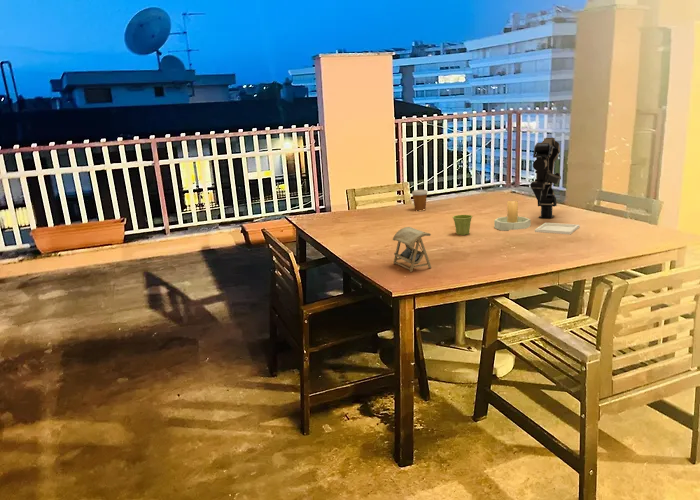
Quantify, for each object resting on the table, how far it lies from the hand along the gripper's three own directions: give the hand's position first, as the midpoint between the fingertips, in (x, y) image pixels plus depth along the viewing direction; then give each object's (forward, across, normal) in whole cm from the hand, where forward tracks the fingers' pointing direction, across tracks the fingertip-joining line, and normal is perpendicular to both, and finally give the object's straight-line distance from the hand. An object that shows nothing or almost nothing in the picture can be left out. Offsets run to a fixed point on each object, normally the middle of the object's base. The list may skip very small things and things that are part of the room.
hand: (541, 199), depth 270 cm
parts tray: (+12, -15, -12) cm, 23 cm away
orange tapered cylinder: (+11, -14, +10) cm, 20 cm away
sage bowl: (+12, -14, +10) cm, 21 cm away
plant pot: (+12, -35, +27) cm, 46 cm away
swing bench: (+12, -93, +22) cm, 96 cm away
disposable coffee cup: (+12, +15, +78) cm, 80 cm away
